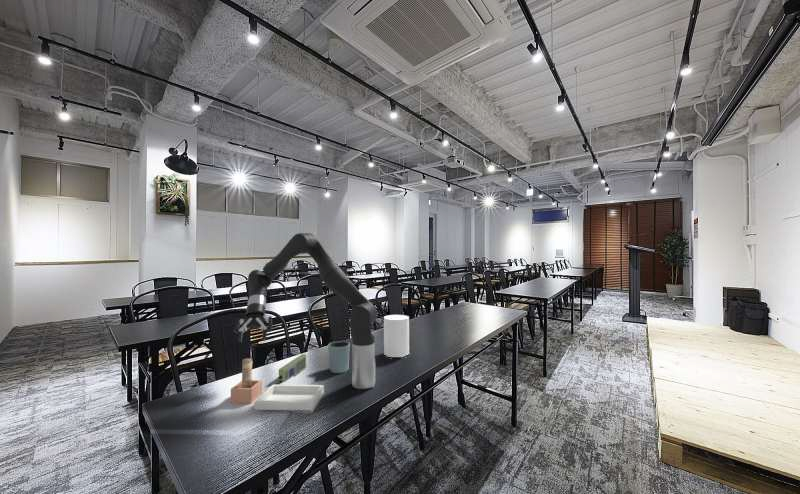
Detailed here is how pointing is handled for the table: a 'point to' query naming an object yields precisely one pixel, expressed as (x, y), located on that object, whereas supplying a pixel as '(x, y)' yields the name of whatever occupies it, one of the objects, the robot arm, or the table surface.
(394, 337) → the canister
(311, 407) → the tray
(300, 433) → the table surface
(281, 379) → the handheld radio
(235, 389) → the pot
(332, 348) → the teal cup
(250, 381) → the dowel pin
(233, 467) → the table surface
